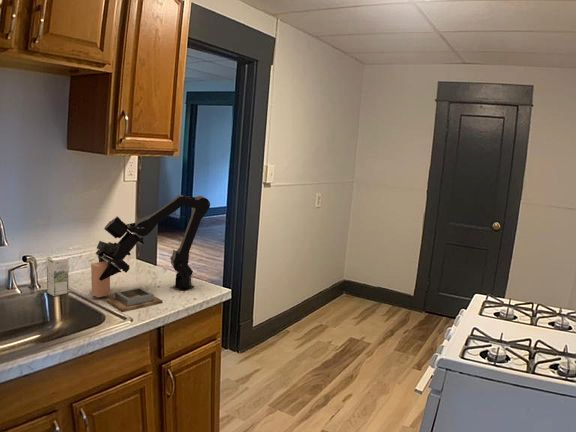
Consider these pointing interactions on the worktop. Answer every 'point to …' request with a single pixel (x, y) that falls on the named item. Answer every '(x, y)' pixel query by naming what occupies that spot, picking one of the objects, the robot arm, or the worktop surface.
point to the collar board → (133, 299)
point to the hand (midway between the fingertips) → (97, 278)
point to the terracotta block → (99, 286)
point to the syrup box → (57, 275)
